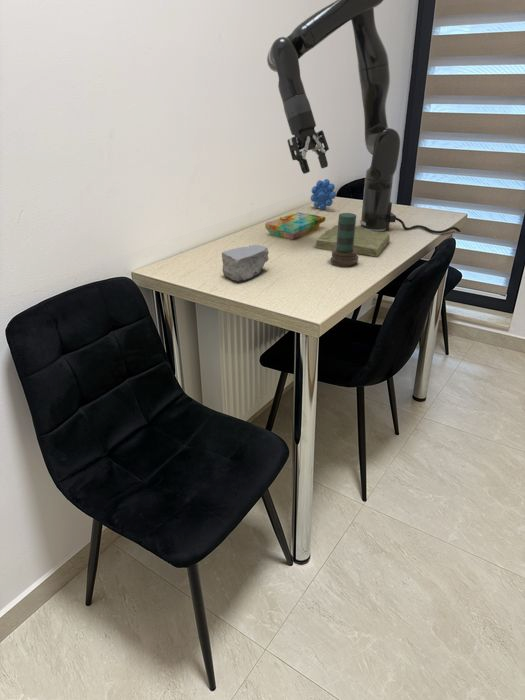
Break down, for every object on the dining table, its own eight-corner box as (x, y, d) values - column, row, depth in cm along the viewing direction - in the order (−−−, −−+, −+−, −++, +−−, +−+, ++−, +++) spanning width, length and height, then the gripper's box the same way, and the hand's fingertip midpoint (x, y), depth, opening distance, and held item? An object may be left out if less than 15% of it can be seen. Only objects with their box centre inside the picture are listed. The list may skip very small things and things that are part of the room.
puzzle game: (265, 221, 174) (297, 209, 188) (265, 234, 176) (297, 222, 190) (294, 226, 168) (325, 214, 182) (294, 241, 170) (324, 227, 184)
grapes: (340, 210, 207) (342, 179, 201) (330, 213, 202) (332, 181, 197) (316, 205, 214) (318, 175, 208) (306, 208, 209) (308, 177, 203)
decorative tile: (376, 257, 156) (378, 245, 154) (314, 247, 164) (315, 236, 162) (392, 241, 170) (393, 230, 169) (334, 233, 178) (335, 222, 177)
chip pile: (353, 258, 155) (354, 245, 153) (360, 266, 148) (362, 253, 146) (327, 259, 154) (328, 246, 152) (334, 268, 147) (335, 254, 146)
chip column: (350, 246, 152) (353, 212, 147) (355, 251, 148) (358, 216, 143) (334, 247, 151) (337, 213, 146) (338, 252, 147) (341, 217, 142)
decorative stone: (216, 281, 139) (249, 285, 135) (214, 256, 135) (248, 259, 132) (240, 265, 150) (271, 268, 147) (238, 241, 147) (271, 244, 144)
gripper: (291, 112, 143) (309, 171, 147) (323, 106, 152) (339, 162, 155) (273, 122, 149) (291, 178, 153) (305, 116, 157) (321, 169, 161)
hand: (315, 170), depth 154 cm, fingers open, 8 cm apart
